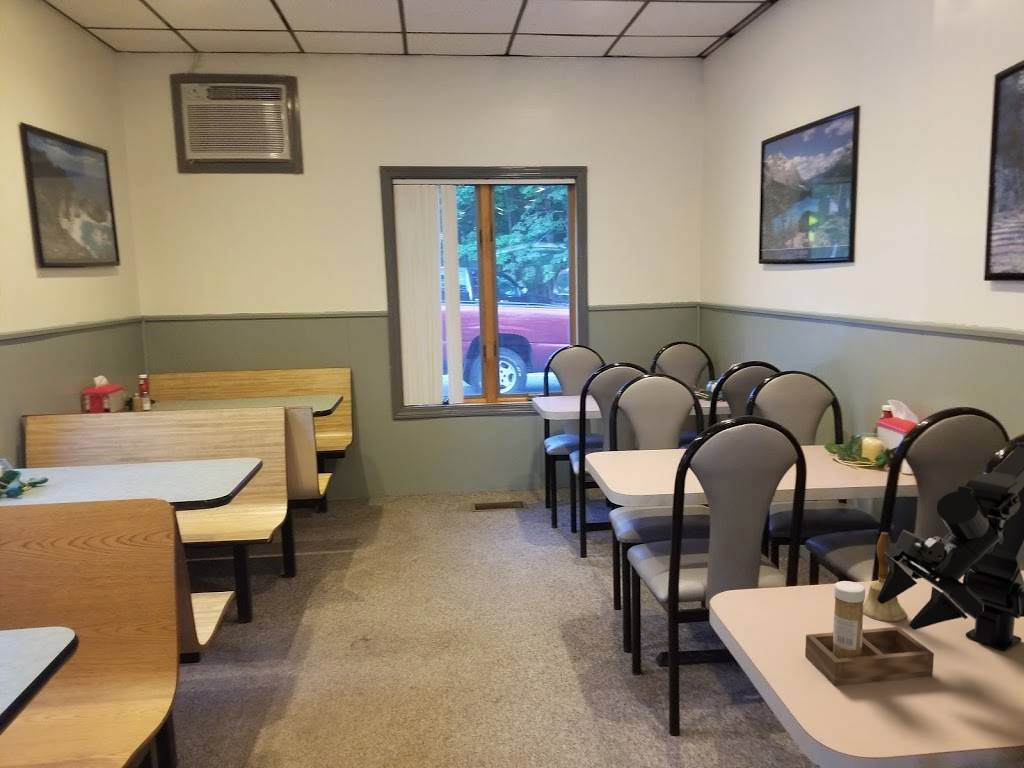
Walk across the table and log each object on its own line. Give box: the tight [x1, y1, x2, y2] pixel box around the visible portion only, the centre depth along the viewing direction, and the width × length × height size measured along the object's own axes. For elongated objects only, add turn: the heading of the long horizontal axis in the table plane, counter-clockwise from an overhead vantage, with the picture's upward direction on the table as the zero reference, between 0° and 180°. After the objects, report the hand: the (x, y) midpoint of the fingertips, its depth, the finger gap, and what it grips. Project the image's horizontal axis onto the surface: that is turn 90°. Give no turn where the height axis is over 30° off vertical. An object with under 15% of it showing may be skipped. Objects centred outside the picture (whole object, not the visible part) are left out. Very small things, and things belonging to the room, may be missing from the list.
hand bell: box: [863, 531, 907, 623], centre depth 137 cm, size 8×8×16 cm
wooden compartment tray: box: [804, 626, 935, 687], centre depth 120 cm, size 17×9×4 cm, turn 97°
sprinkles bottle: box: [833, 580, 866, 659], centre depth 118 cm, size 5×5×14 cm
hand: (894, 614), depth 119 cm, fingers open, 9 cm apart
